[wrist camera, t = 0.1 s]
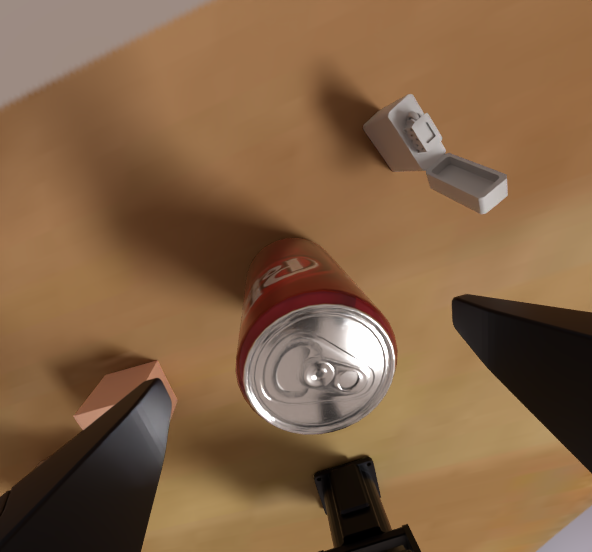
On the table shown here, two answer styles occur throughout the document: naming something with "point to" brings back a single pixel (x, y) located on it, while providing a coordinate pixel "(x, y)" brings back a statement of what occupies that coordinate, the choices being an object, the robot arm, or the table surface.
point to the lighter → (432, 156)
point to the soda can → (310, 341)
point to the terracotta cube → (119, 391)
